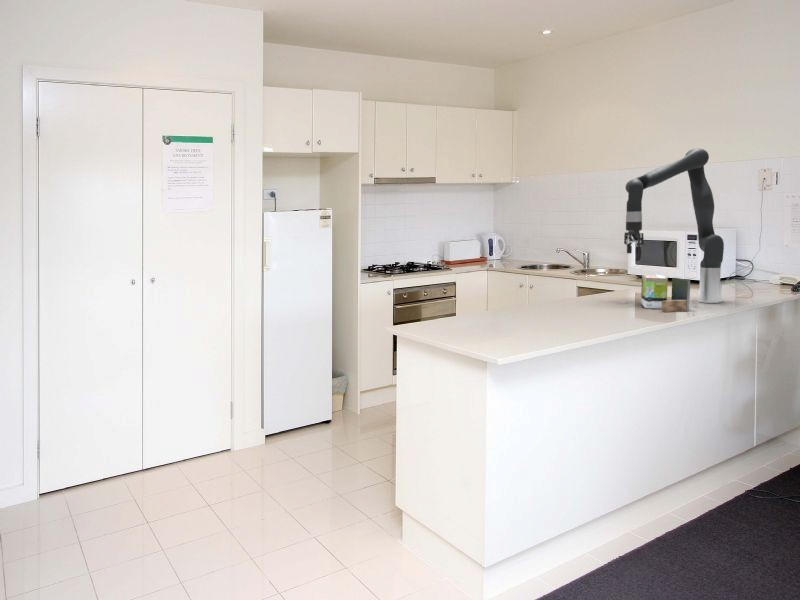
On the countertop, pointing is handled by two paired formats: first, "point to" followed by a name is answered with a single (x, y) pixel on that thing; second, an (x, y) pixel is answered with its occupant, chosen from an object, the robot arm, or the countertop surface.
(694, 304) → the countertop surface
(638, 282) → the countertop surface
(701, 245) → the robot arm
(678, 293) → the bookend
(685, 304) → the wooden block
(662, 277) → the tea box
